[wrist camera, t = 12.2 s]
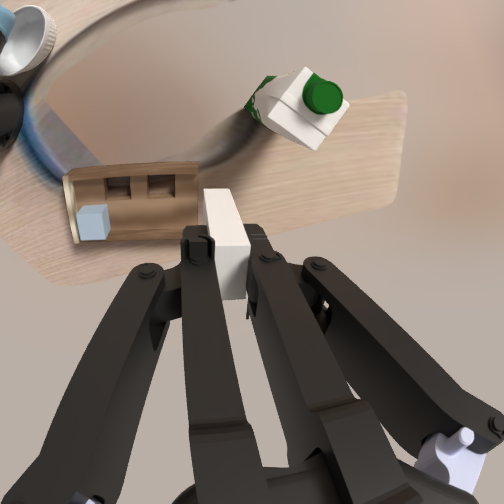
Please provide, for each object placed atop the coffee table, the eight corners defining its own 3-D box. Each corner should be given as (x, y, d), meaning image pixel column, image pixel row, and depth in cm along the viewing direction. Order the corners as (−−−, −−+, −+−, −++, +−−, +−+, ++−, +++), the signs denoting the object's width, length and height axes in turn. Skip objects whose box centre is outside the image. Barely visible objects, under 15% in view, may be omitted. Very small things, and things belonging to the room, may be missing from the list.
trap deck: (72, 168, 43) (62, 176, 39) (198, 161, 48) (199, 168, 44) (82, 231, 50) (74, 243, 46) (197, 226, 55) (198, 239, 51)
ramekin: (72, 44, 31) (56, 39, 25) (20, 89, 32) (0, 92, 26) (51, -1, 23) (35, -9, 18) (1, 44, 24) (-19, 43, 18)
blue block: (83, 205, 45) (75, 215, 42) (107, 204, 46) (101, 213, 43) (87, 230, 48) (80, 240, 44) (110, 228, 49) (105, 239, 45)
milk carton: (304, 97, 45) (364, 106, 29) (275, 135, 48) (322, 163, 32) (265, 68, 41) (310, 58, 25) (235, 108, 44) (263, 120, 28)
